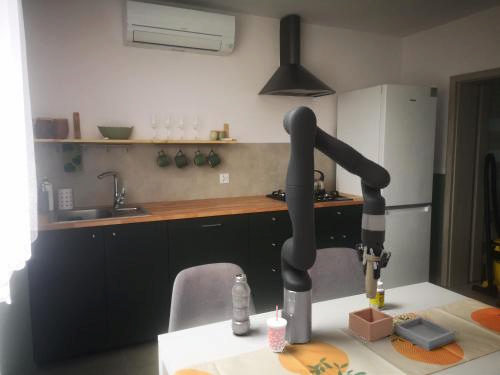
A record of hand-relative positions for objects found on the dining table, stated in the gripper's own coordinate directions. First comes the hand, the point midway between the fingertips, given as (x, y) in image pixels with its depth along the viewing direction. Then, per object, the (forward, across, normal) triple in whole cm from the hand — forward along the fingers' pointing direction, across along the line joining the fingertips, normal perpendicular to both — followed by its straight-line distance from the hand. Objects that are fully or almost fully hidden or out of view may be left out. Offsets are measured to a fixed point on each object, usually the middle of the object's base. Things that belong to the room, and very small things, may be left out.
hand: (371, 277), depth 124 cm
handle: (+7, 0, 0) cm, 7 cm away
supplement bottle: (+19, -13, +17) cm, 29 cm away
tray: (+19, +11, +13) cm, 26 cm away
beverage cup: (+20, -6, -34) cm, 40 cm away
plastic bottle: (+20, -21, -39) cm, 48 cm away
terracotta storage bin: (+19, 0, 0) cm, 19 cm away
